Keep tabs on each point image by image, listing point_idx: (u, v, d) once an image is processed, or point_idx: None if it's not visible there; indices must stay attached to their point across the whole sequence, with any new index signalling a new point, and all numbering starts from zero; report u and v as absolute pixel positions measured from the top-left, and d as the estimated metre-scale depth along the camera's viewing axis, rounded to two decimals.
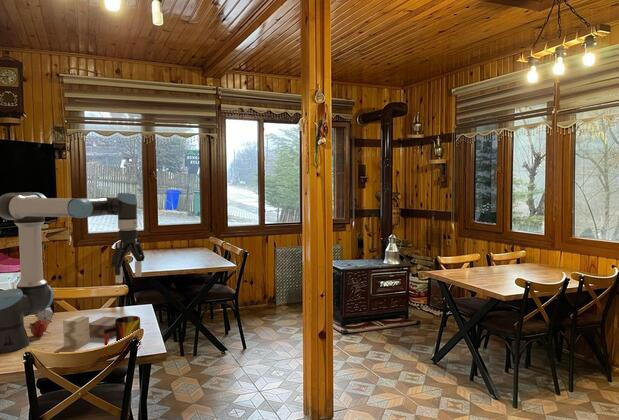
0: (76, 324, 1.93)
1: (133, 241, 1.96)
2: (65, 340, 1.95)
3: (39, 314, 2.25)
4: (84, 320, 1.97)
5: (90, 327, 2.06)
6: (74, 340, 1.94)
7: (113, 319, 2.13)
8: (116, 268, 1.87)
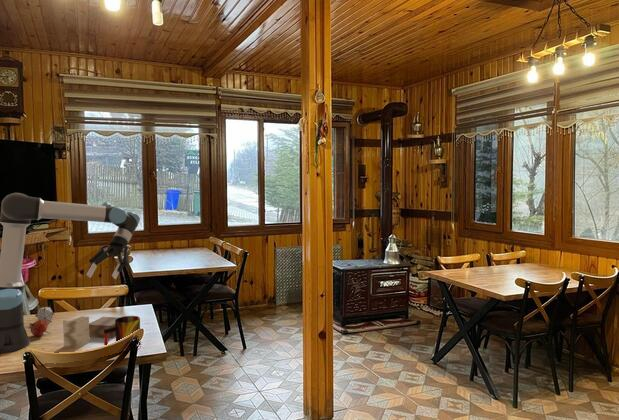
0: (76, 324, 1.93)
1: None
2: (65, 340, 1.95)
3: (39, 314, 2.25)
4: (84, 320, 1.97)
5: (90, 327, 2.06)
6: (74, 340, 1.94)
7: (113, 319, 2.13)
8: (122, 266, 2.14)
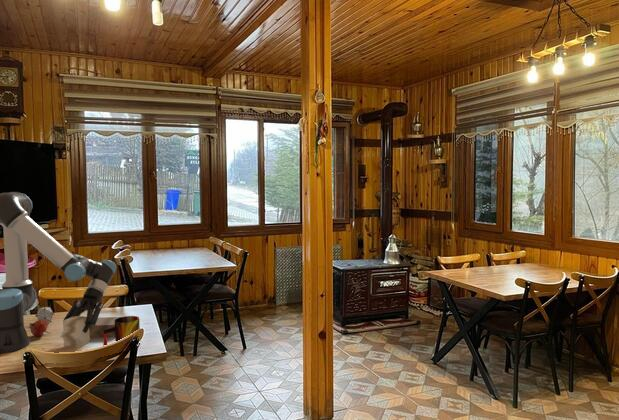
0: (76, 324, 1.93)
1: None
2: (65, 340, 1.95)
3: (39, 314, 2.25)
4: (84, 320, 1.97)
5: (92, 328, 2.05)
6: (74, 340, 1.94)
7: (113, 319, 2.14)
8: (88, 326, 1.97)
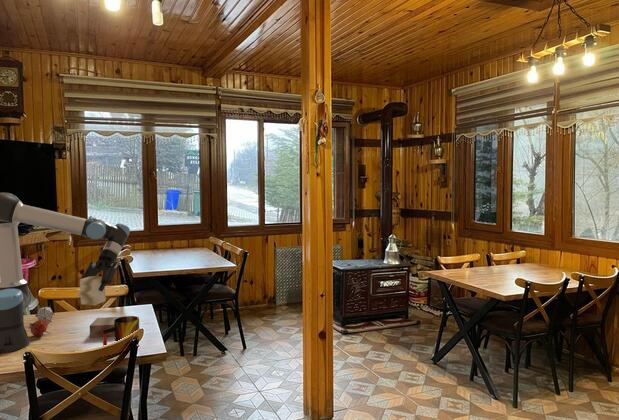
0: (92, 282, 1.99)
1: None
2: (82, 298, 2.01)
3: (39, 314, 2.25)
4: (99, 280, 2.03)
5: (93, 328, 2.05)
6: (91, 298, 1.99)
7: (112, 319, 2.14)
8: (104, 284, 2.03)
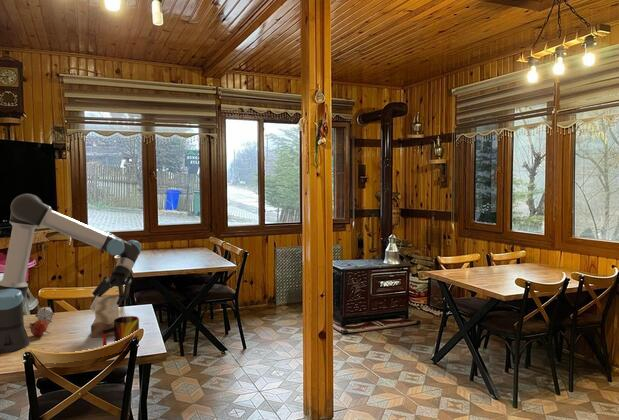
0: (107, 302, 2.07)
1: None
2: (96, 317, 2.08)
3: (39, 314, 2.25)
4: (114, 299, 2.10)
5: (95, 328, 2.04)
6: (106, 317, 2.07)
7: None
8: (122, 299, 2.10)
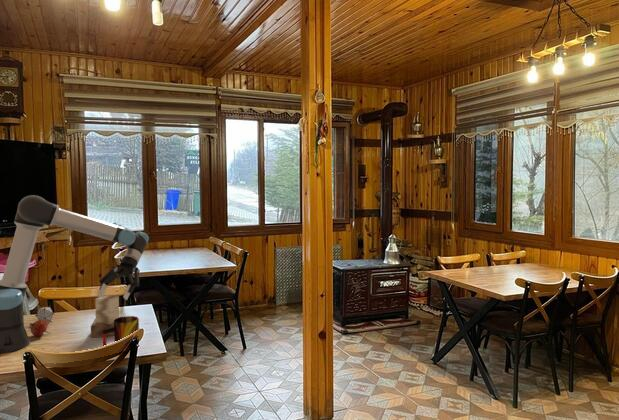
0: (108, 302, 2.07)
1: None
2: (97, 317, 2.08)
3: (39, 314, 2.25)
4: (114, 299, 2.11)
5: (95, 328, 2.04)
6: (106, 317, 2.07)
7: None
8: (133, 287, 2.15)
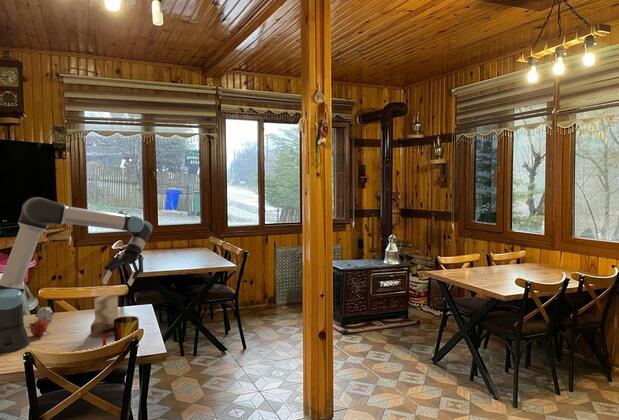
0: (107, 302, 2.07)
1: None
2: (96, 317, 2.08)
3: (39, 314, 2.25)
4: (113, 299, 2.11)
5: (95, 328, 2.04)
6: (106, 317, 2.07)
7: None
8: (137, 273, 2.21)
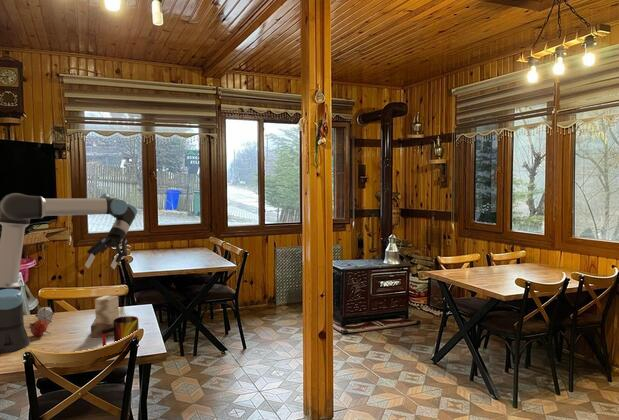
0: (108, 302, 2.06)
1: None
2: (97, 317, 2.08)
3: (39, 314, 2.25)
4: (114, 299, 2.10)
5: (95, 328, 2.04)
6: (106, 317, 2.07)
7: None
8: (121, 256, 2.17)
